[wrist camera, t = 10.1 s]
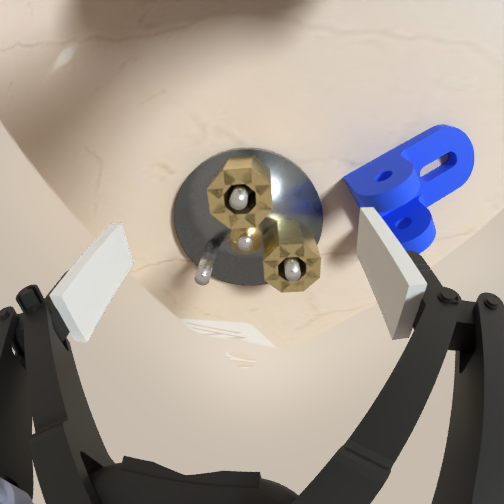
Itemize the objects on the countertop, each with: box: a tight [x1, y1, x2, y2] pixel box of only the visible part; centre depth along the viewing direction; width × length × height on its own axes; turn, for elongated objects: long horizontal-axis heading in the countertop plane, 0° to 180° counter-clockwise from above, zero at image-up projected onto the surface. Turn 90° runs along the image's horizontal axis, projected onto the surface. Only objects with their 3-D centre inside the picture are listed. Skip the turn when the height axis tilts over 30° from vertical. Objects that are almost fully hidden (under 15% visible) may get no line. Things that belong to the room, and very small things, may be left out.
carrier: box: [174, 148, 323, 292], centre depth 33 cm, size 18×18×8 cm
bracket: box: [343, 125, 474, 254], centre depth 28 cm, size 18×8×9 cm, turn 124°
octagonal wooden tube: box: [207, 155, 273, 229], centre depth 30 cm, size 6×6×6 cm
